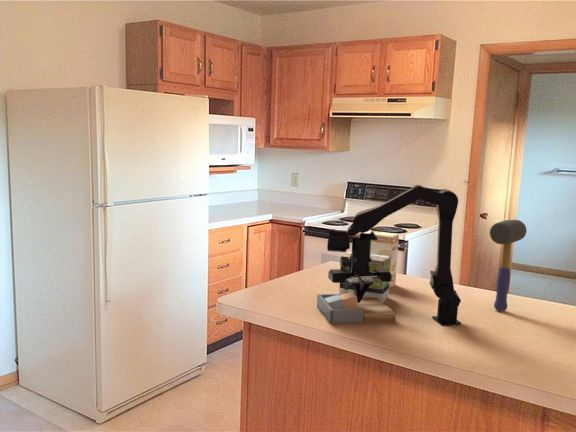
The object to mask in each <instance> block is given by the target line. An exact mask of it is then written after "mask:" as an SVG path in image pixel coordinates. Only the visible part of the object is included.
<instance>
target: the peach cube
mask: <svg viewBox="0 0 576 432" xmlns="http://www.w3.org/2000/svg"><path fill="white" fill-rule="evenodd" d="M339 296H340V297H341V298H342V301H343V306H344V309H358V308H359V307H358V302H357V297H356V295H355V294H354V293H353V292H349V293H345V294H342V295H339Z"/></svg>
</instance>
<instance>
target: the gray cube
mask: <svg viewBox="0 0 576 432" xmlns="http://www.w3.org/2000/svg"><path fill="white" fill-rule="evenodd" d="M324 299H325V301H326V302H327V303H328V305H329V306H330V307H331V308H332V309H333V310H341V309H344V306H343V301H342V298H341V297H340V296H339V295H335V296H331V297H327V298H324Z"/></svg>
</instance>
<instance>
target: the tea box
mask: <svg viewBox="0 0 576 432" xmlns="http://www.w3.org/2000/svg"><path fill="white" fill-rule="evenodd" d="M351 254H352V250H351V251H348V252H345V253H344V254H343V255H341V256H340V258H341V257H347V258H348V259H350V256H351ZM370 258H372V259H371V262H370V271H371V272H373V271H374V269H384V268H385V269H386V270H388V271H389V272H390V263H391V256H386V255H377V254H370ZM339 269H341V270H342V271H343V272H351V271H348V270H346V267H341V266H340V267H339ZM354 276H358V275H354ZM372 282H373V285H370V286H369V288H368V289H367V291H366V292H365V294H364V296H363V298H378V299H380V300H381V301H382V302H383V303H384V302H385V301H386V300H387V299H388V298H389V295H390V294H389V292H390V288H389V282H382V281H381V280H380V278H372ZM338 290H339V293H338V294H345V293H349V292H353V293H354V289H353V287H352V285H351V284H350V283H349V282H348V281H347V280H345V281H344V282H343V283H339V289H338ZM354 294H355V293H354Z"/></svg>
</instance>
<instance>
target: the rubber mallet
mask: <svg viewBox="0 0 576 432" xmlns="http://www.w3.org/2000/svg"><path fill="white" fill-rule="evenodd" d="M526 234H527V227H526V224H525V223H524V222H523V221H521V220H520V219H506V220H501V221H498V222H496V223H494V224H493V225H492V226H491V227H490V229H489V236H490V239H491V240H492V241H493V242H494V243H496V244H498V245H502V251H501V259H500V260H501V262H500V266H499V269H498V273H497V278H496V296H495V300H494V303H493V306H494V307H493V308H494V309H495V311H497V312H501V313H502V312H505V311H506V310H507V309H508V302H507V301H508V291H509V286H510V277H511V276H510V275H511V273H510V272H511V271H510V264H511V252H512V244H513V243H516V242H519V241H521V240H523V239H524V238H525V236H526Z"/></svg>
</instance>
